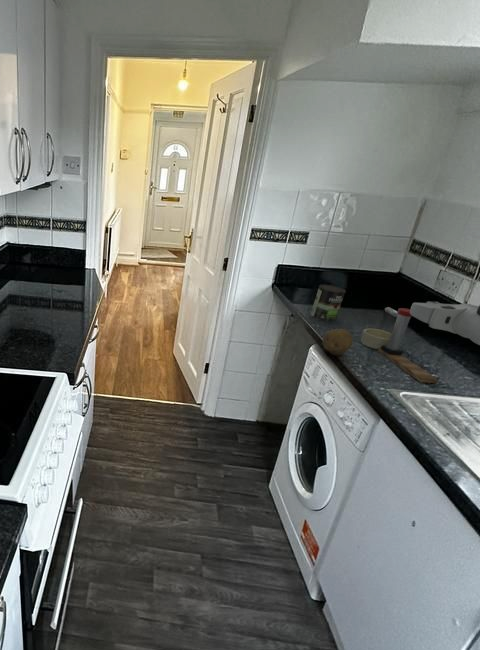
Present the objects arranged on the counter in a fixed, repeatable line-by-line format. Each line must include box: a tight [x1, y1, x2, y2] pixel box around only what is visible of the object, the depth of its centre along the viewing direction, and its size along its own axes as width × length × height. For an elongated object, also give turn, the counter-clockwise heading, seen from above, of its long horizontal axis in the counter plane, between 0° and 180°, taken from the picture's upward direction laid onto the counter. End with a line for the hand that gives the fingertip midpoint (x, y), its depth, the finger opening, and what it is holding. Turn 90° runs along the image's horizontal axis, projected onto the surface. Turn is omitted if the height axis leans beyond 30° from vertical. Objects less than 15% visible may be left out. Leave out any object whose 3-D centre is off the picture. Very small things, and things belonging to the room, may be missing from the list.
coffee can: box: [309, 284, 347, 323], centre depth 179 cm, size 10×10×14 cm
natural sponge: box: [321, 328, 354, 356], centre depth 145 cm, size 9×9×10 cm
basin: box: [359, 327, 392, 350], centre depth 156 cm, size 10×10×5 cm
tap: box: [381, 306, 413, 356], centre depth 149 cm, size 12×5×16 cm, turn 179°
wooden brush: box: [377, 348, 438, 384], centre depth 141 cm, size 22×5×2 cm, turn 179°
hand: (430, 304), depth 133 cm, fingers closed
